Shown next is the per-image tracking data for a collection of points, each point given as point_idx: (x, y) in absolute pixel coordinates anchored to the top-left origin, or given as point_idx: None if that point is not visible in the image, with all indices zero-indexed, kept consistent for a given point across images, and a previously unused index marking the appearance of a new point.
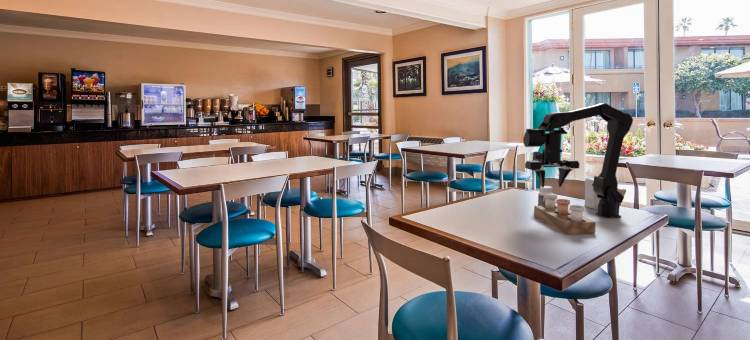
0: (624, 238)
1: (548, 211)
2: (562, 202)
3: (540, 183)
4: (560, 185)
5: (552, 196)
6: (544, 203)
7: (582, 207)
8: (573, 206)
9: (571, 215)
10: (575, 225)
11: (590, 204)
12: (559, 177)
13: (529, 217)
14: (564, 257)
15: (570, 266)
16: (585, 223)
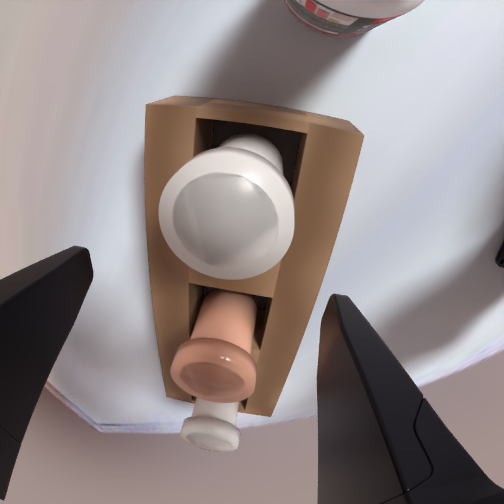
0: (316, 414)
1: (169, 270)
2: (191, 390)
3: (37, 268)
4: (321, 344)
5: (208, 274)
6: (303, 11)
7: (218, 450)
8: (192, 438)
9: (194, 405)
10: None
11: None
12: (360, 420)
13: (133, 127)
14: (120, 417)
15: (119, 429)
16: None
